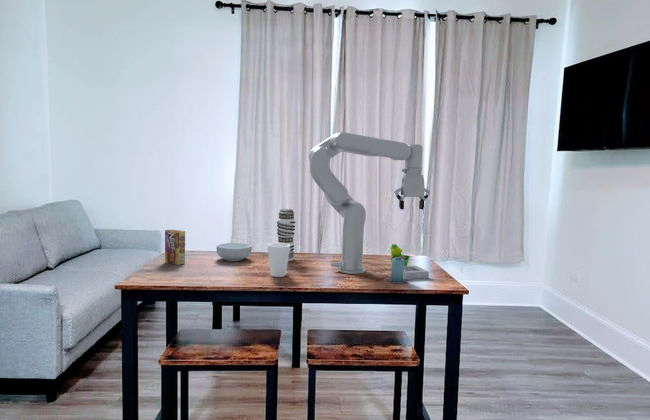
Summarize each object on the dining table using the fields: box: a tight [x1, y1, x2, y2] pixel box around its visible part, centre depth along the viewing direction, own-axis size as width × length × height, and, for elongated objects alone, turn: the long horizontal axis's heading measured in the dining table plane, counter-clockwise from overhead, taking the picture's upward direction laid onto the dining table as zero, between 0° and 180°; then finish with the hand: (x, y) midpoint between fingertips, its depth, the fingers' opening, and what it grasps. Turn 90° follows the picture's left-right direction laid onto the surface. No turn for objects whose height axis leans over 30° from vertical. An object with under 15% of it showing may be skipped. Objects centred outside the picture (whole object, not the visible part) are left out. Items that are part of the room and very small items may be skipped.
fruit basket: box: [390, 243, 411, 266], centre depth 207 cm, size 11×9×11 cm
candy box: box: [164, 228, 186, 266], centre depth 200 cm, size 9×4×15 cm, turn 63°
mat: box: [385, 277, 409, 285], centre depth 183 cm, size 7×7×1 cm
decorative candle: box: [276, 208, 296, 262], centre depth 216 cm, size 9×9×25 cm
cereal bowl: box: [215, 242, 252, 262], centre depth 212 cm, size 17×17×7 cm
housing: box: [403, 265, 430, 281], centre depth 193 cm, size 12×12×3 cm
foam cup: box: [267, 242, 290, 278], centre depth 186 cm, size 10×9×13 cm
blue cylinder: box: [390, 257, 404, 282], centre depth 182 cm, size 5×5×10 cm
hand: (411, 209), depth 200 cm, fingers open, 9 cm apart
